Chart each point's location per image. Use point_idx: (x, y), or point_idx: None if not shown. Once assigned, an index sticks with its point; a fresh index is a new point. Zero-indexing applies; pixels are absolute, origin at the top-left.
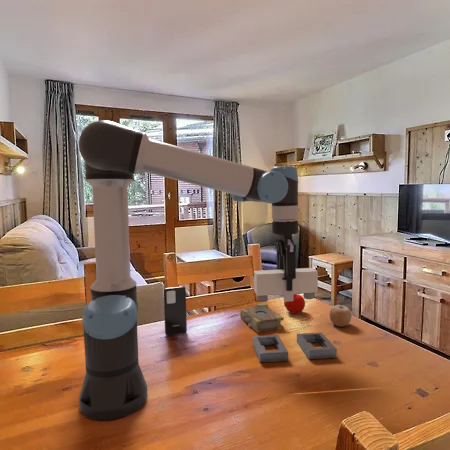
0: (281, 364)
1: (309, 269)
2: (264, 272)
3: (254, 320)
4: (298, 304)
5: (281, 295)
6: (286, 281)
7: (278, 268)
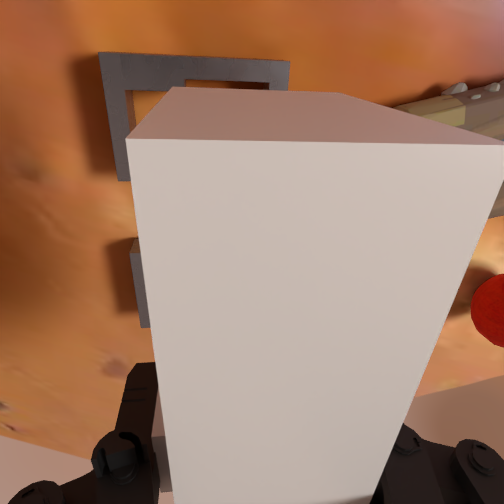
0: (105, 139)
1: None
2: (281, 325)
3: (439, 110)
4: (485, 320)
5: None
6: (148, 433)
7: (436, 484)
